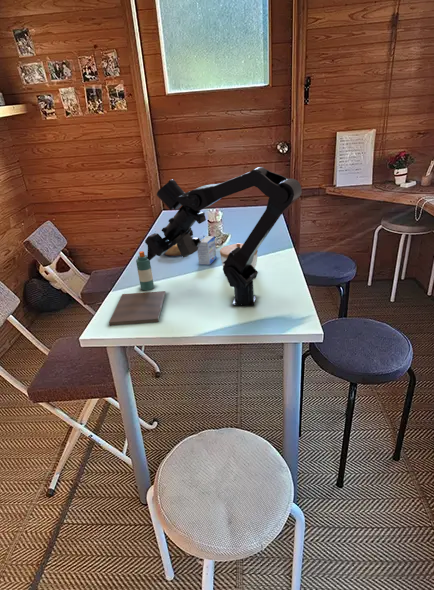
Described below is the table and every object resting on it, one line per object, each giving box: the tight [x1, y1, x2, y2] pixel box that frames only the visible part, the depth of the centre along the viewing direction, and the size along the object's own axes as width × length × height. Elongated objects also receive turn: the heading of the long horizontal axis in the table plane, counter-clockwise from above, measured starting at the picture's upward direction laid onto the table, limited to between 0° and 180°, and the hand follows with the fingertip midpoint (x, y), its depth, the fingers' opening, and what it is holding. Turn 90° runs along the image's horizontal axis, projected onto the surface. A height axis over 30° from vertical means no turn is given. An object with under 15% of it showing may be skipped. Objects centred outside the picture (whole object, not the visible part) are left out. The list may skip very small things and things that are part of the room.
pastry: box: [164, 244, 181, 257], centre depth 175 cm, size 12×12×9 cm
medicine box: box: [196, 235, 217, 266], centre depth 163 cm, size 8×4×9 cm, turn 161°
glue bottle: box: [135, 250, 155, 291], centre depth 143 cm, size 4×4×12 cm
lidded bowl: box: [219, 242, 259, 269], centre depth 148 cm, size 13×13×11 cm
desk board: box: [108, 290, 167, 326], centre depth 132 cm, size 20×14×1 cm
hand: (156, 254), depth 138 cm, fingers open, 9 cm apart
